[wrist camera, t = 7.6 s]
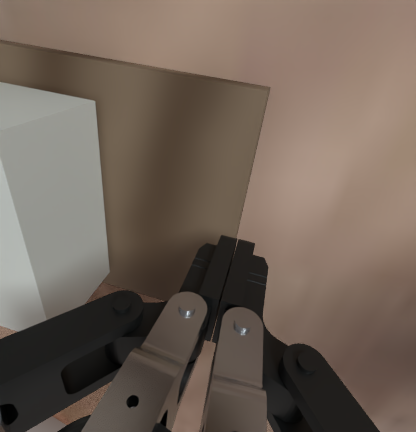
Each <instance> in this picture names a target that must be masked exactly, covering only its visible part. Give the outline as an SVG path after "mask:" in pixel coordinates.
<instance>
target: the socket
mask: <svg viewBox="0 0 416 432" xmlns="http://www.w3.org/2000/svg"><path fill="white" fill-rule="evenodd" d="M109 272H110V270H109V258H108V246H107V234H106V222H105V211H104V199H103V187H102V175H101V164H100V152H99V140H98V128H97V116H96V105H95V101H93V100H88V99H83V98H78V97H73V96H68V95H63V94H58V93H53V92H48V91H43V90H38V89H33V88H28V87H23V86H18V85H13V84H8V83H3V82H0V326H3V327H6V328H9V329H12V330H15V331H18V332H19V331H21V330H24V329H26V328H29V327H31V326H33V325H36V324H38V323H41V322H43V321H46V320H48V319H51V318H53V317H55V316H58V315H60V314H63V313H65V312H68V311H70V310H72V309H75V308H77V307H80V306H82V305H84V304H85V303H86V302H87V300H88V299H89V298H90V297H91V295H92V294H93V293H94V291H95V290H96V289H97V288H98V286H99V285H100V284H101V283H102V281H103V280H104V279H105V277H106V276H107V275H108V274H109Z"/></svg>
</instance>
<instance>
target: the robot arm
mask: <svg viewBox="0 0 416 432" xmlns="http://www.w3.org/2000/svg"><path fill="white" fill-rule="evenodd" d="M236 243H237V239H236V238H232V237H228V236H225V235H221V236H220V239H219V242H218V244H217V245H213V244H209V243H206V244H204V245H203V246H202V247H201V248H199V249H198V252H197V254H196V256H195V259H194V260H193V262H192V265H191V267H190V269H189V271H188V273H187V275H186V278H185V280H184V282H183V284H182V286H181V288H180V290H179V292H178V293H177V294H175V295H174V296H172V297H171V298H170V299H169V300H168V301H165V302H159V303H143V301H142V299H141V297H140V296H139V295H138V294H136V293H135V292H132V291H127V290H123V291H117V292H114V293H111V294H109V295H106V296H104V297H102V298H99V299H97V300H94V301H92V302H89V303H87V304H85V305H82V306H80V307H77V308H75V309H72V310H70V311H68V312H65V313H63V314H60V315H58V316H55V317H53V318H51V319H48V320H46V321H43V322H41V323H38V324H36V325H33V326H31V327H29V328H26V329H24V330H21V331H19V332H16V333H14V334H12V335H9V336H7V337H4V338H2V339H0V432H26V431H27V430H29V429H30V428H32V427H34V426H36V425H38V424H39V423H41V422H43V421H44V420H46V419H48V418H49V417H51V416H53V415H55V414H56V413H58V412H60V411H61V410H63V409H65V408H67V407H68V406H70V405H72V404H73V403H75V402H77V401H79V400H80V399H82V398H84V397H85V396H87V395H89V394H90V393H92V392H94V391H96V390H97V389H99V388H101V387H102V386H104V385H106V384H108V383H109V382H111V381H112V383H111V384H110V386H109V387H108V389H107V391H106V392H105V394H104V395H103V397H102V399H101V400H100V402H99V403H98V405H97V407H96V408H95V410H94V412H93V413H92V415H88V416H86V417H83V418H80V419H78V420H76V421H74V422H72V423H70V424H69V425H67V426H65V427H64V428H62V429H61V430H59V431H58V432H171V431H172V428H173V425H174V421H175V418H176V414H177V411H178V409H179V406H180V403H181V401H182V398H183V396H184V393H185V391H186V388H187V386H188V383H189V380H190V378H191V375H192V373H193V370H194V368H195V365H196V363H197V360H198V357H199V355H200V353H201V350H202V347H203V344H204V340H207V341H210V340H211V337H212V333H213V330H214V326H215V323H216V326H215V330H214V335H213V339H212V342H214V343H216V347H215V352H214V356H213V360H212V364H211V370H210V375H209V381H208V387H207V392H206V398H205V404H204V409H203V415H202V420H201V425H200V430H199V432H267V419H268V421H269V423H270V425H271V427H272V429H273V431H274V432H380V431H379V430H378V429H377V427H376V426H375V425H374V423H373V422H372V421H371V419H370V418H369V417H368V415H367V414H366V413H365V411H364V410H363V409H362V408H361V406H360V405H359V404H358V402H357V401H356V400H355V398H354V397H353V396H352V394H351V393H350V392H349V390H348V389H347V388H346V386H345V385H344V384H343V382H342V381H341V380H340V379H339V377H338V376H337V375H336V373H335V372H334V371H333V369H332V368H331V367H330V365H329V364H328V363H327V361H326V360H325V359H324V357H323V356H322V355H321V354H320V353H319V352H318V351H317V350H315V349H314V348H312V347H310V346H308V345H305V344H299V343H298V344H292V345H290V346H287V345H286V344H284V343H283V342H281V341H279V340H278V339H276V338H275V337H274V336H273V335H271V334H270V332H269V331H268V330H267V329H266V327H265V325H264V322H263V307H264V298H265V290H266V282H267V274H268V266H267V263H266V261H265V258H263V257H259V256H255V255H253V251H254V246H255V243H252V242H248V241H244V240H240V239H239V240H238V243H237V247H236ZM235 247H236V250H235ZM234 252H235V254H234ZM233 256H234V257H233ZM232 260H233V261H232ZM217 316H218V317H217ZM216 319H217V321H216Z"/></svg>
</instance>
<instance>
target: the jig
mask: <svg viewBox="0 0 416 432" xmlns="http://www.w3.org/2000/svg"><path fill="white" fill-rule="evenodd" d="M0 82H3V83H8V84H13V85H18V86H23V87H28V88H33V89H38V90H43V91H48V92H53V93H58V94H63V95H68V96H73V97H78V98H83V99H88V100H93V101H95V105H96V116H97V128H98V140H99V152H100V164H101V175H102V187H103V199H104V211H105V222H106V234H107V246H108V258H109V270H110V272H109V274H108V275H107V276H106V277H105V279H104V280H103V281H102V282H103V283H106V284H109V285H113V286H116V287H120V288H123V289H126V290H130V291H133V292H136V293H140V294H143V295H147V296H150V297H153V298H157V299H160V300H164V301H168V300H169V299H170V298H171V297H172V296H174V295H175V294H177V293H178V292H179V290H180V288H181V286H182V284H183V282H184V280H185V278H186V275H187V273H188V271H189V269H190V267H191V265H192V262H193V260H194V259H195V256H196V254H197V252H198V249H199V248H201V247H202V246H203V245H204V244H206V243H209V244H213V245H217V244H218V242H219V239H220V236H221V235H225V236H228V237H232V238H236V237H237V233H238V228H239V224H240V219H241V215H242V211H243V206H244V202H245V197H246V193H247V189H248V184H249V180H250V175H251V171H252V166H253V162H254V158H255V153H256V149H257V144H258V140H259V135H260V131H261V127H262V122H263V118H264V113H265V109H266V105H267V100H268V96H269V91H270V87H265V86H260V85H254V84H248V83H243V82H237V81H231V80H226V79H220V78H214V77H208V76H203V75H197V74H191V73H186V72H180V71H174V70H169V69H163V68H157V67H152V66H146V65H140V64H134V63H129V62H123V61H117V60H112V59H106V58H100V57H95V56H89V55H83V54H78V53H72V52H66V51H60V50H55V49H49V48H43V47H38V46H32V45H26V44H21V43H15V42H9V41H4V40H0Z"/></svg>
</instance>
